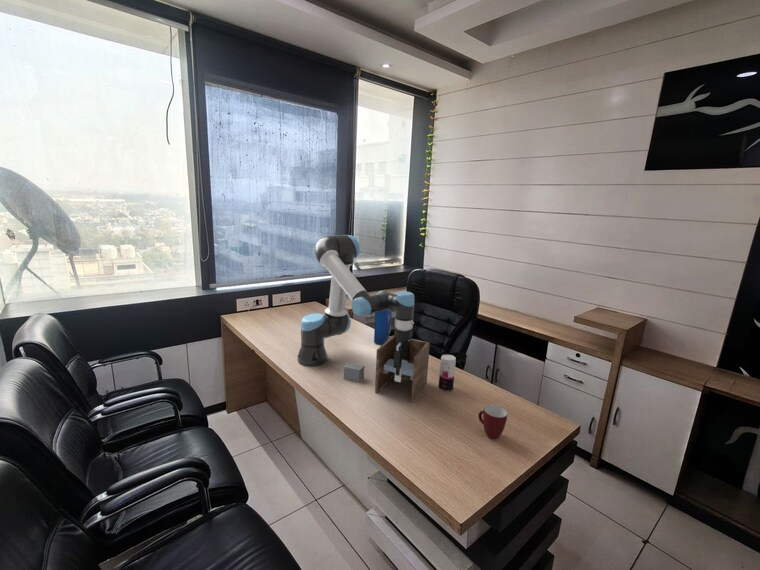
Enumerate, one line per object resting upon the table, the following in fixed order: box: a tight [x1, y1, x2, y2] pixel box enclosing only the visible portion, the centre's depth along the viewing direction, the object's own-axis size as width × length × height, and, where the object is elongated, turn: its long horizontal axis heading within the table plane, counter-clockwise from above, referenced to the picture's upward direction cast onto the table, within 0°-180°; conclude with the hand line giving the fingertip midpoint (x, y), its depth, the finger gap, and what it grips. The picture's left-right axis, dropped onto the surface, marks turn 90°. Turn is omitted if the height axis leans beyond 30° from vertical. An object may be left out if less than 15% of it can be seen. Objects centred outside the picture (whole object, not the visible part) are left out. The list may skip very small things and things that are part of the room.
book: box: [373, 310, 393, 345], centre depth 215 cm, size 22×7×25 cm, turn 168°
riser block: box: [343, 362, 365, 383], centre depth 166 cm, size 8×5×6 cm, turn 67°
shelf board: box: [384, 359, 414, 377], centre depth 156 cm, size 14×7×2 cm, turn 67°
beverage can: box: [438, 354, 457, 392], centre depth 160 cm, size 6×7×15 cm
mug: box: [477, 404, 508, 440], centre depth 129 cm, size 10×8×10 cm
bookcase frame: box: [374, 335, 431, 404], centre depth 158 cm, size 18×19×20 cm
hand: (400, 377), depth 157 cm, fingers closed on shelf board, 7 cm apart
